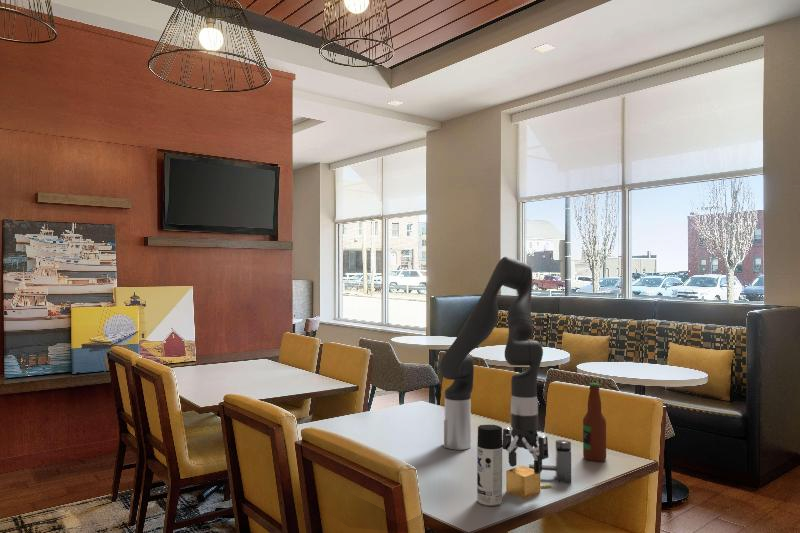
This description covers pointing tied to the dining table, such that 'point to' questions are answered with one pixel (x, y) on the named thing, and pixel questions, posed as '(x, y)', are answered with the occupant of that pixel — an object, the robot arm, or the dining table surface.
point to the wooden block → (522, 482)
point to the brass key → (545, 485)
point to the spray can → (489, 465)
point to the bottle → (594, 428)
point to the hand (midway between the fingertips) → (525, 469)
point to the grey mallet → (561, 462)
